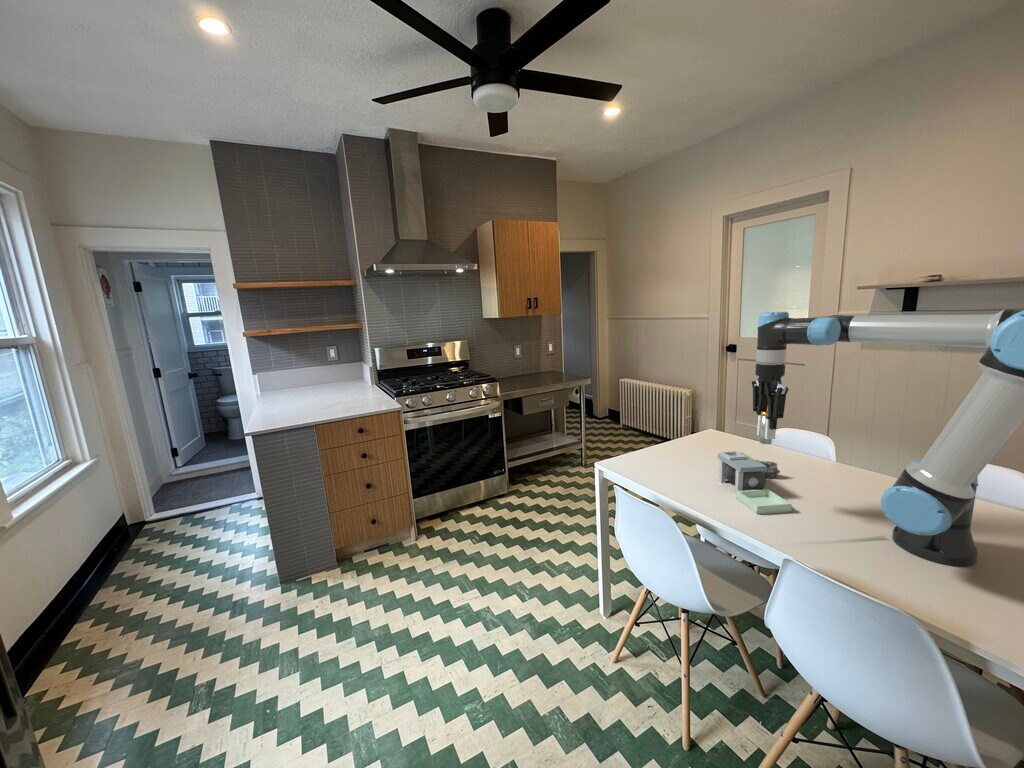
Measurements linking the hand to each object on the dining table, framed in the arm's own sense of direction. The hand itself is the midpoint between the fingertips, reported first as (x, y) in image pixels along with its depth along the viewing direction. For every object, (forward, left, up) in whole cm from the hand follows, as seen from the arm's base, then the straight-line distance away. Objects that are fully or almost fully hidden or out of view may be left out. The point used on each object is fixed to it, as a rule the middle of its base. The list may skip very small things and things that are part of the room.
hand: (766, 436), depth 122 cm
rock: (+17, -12, -17) cm, 27 cm away
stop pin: (0, 0, -2) cm, 2 cm away
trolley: (+13, -1, -23) cm, 27 cm away
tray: (0, 0, -23) cm, 23 cm away
